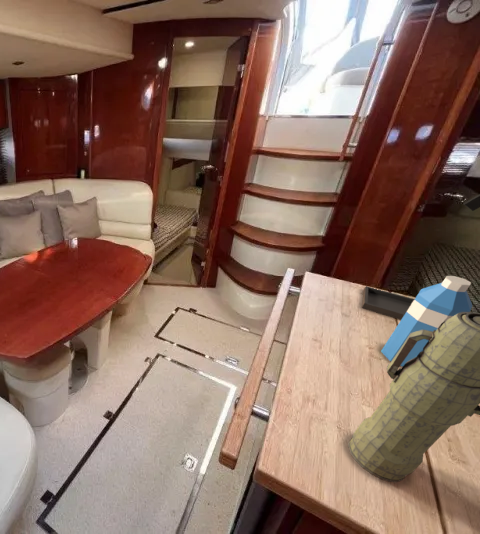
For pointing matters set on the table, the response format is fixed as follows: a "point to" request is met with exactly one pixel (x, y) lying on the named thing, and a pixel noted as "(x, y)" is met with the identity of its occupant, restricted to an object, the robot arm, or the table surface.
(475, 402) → the thermos
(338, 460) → the table surface
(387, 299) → the dark grey square tray
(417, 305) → the water bottle
